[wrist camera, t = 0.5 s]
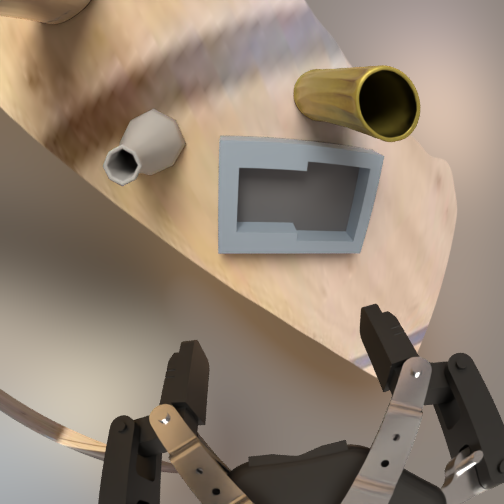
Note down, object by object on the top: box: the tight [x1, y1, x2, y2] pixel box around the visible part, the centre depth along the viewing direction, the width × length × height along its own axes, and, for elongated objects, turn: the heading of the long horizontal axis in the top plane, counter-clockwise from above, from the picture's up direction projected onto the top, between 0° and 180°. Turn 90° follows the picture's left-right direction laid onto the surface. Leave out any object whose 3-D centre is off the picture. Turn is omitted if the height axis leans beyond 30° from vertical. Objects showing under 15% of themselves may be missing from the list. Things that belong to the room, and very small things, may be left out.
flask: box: [103, 109, 186, 186], centre depth 23 cm, size 7×7×10 cm
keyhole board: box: [218, 136, 384, 254], centre depth 30 cm, size 13×18×3 cm
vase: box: [294, 65, 420, 142], centre depth 19 cm, size 6×6×14 cm
